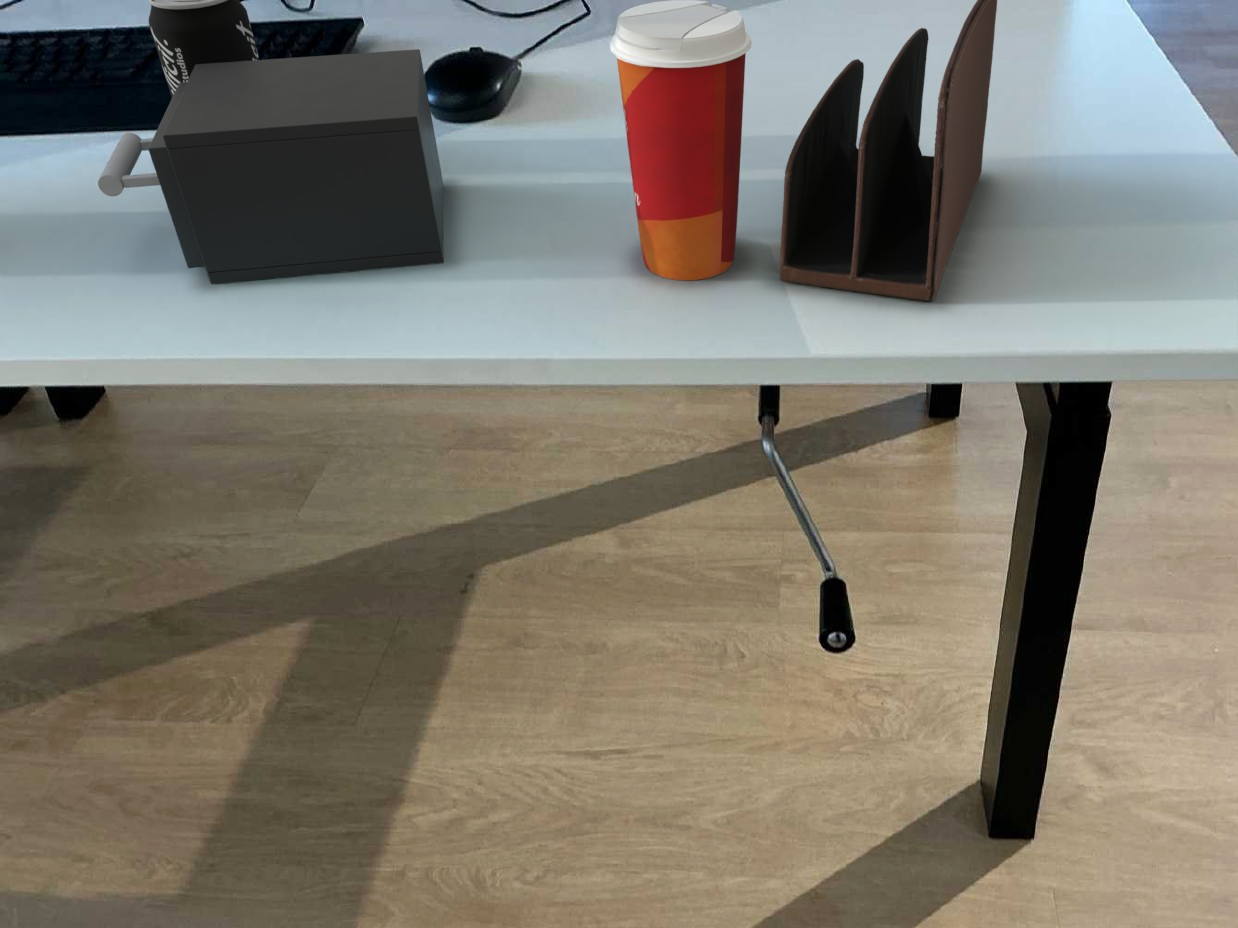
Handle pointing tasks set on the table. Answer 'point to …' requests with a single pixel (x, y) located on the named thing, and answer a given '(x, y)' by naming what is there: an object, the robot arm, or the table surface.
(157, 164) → the drawer
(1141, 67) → the table surface
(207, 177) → the cabinet
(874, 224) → the letter holder
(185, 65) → the beverage can
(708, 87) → the coffee cup
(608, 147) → the table surface
